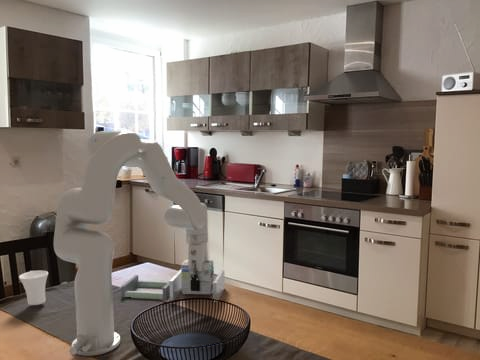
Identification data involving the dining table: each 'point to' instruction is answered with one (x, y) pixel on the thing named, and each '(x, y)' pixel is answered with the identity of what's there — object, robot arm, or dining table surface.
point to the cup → (34, 286)
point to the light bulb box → (204, 277)
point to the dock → (134, 282)
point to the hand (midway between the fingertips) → (198, 286)
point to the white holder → (177, 285)
